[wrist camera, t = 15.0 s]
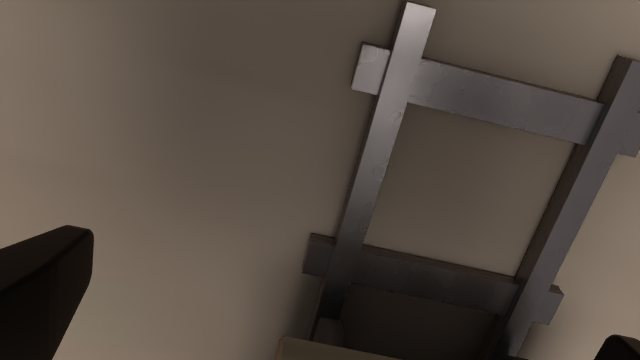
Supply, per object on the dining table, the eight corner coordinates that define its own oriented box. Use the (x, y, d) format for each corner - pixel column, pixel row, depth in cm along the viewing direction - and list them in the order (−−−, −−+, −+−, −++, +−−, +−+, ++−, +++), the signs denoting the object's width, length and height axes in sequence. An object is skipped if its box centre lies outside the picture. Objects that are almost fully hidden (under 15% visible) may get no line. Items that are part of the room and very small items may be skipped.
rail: (375, -8, 18) (378, -6, 17) (669, 68, 19) (686, 74, 18) (259, 426, 26) (257, 443, 25) (468, 464, 27) (473, 482, 26)
